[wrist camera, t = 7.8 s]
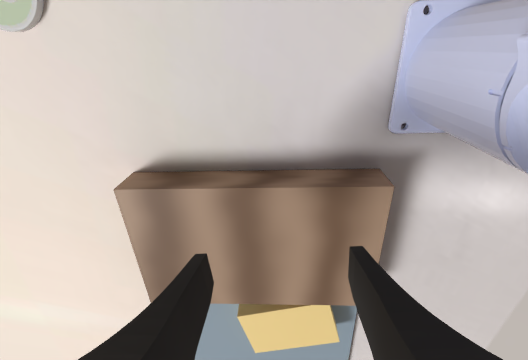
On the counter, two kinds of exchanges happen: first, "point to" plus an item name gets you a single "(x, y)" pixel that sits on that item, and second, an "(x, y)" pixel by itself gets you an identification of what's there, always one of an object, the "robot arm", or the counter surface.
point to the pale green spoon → (20, 14)
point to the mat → (243, 355)
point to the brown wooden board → (257, 230)
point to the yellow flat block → (287, 325)
